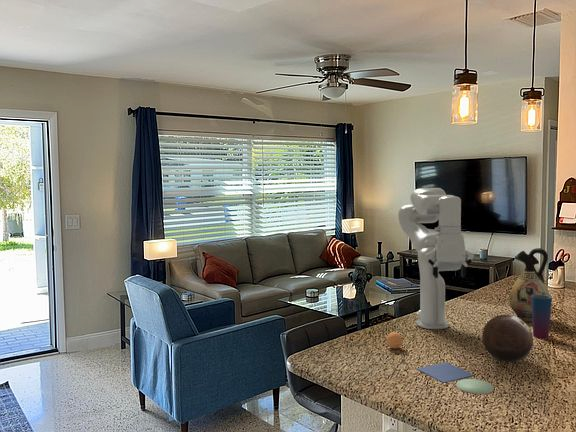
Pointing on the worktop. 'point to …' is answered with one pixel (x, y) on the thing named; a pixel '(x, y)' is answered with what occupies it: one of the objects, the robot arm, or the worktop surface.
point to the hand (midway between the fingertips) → (449, 277)
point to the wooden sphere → (507, 338)
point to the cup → (541, 315)
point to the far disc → (475, 386)
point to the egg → (394, 340)
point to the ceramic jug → (528, 284)
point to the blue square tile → (445, 372)
